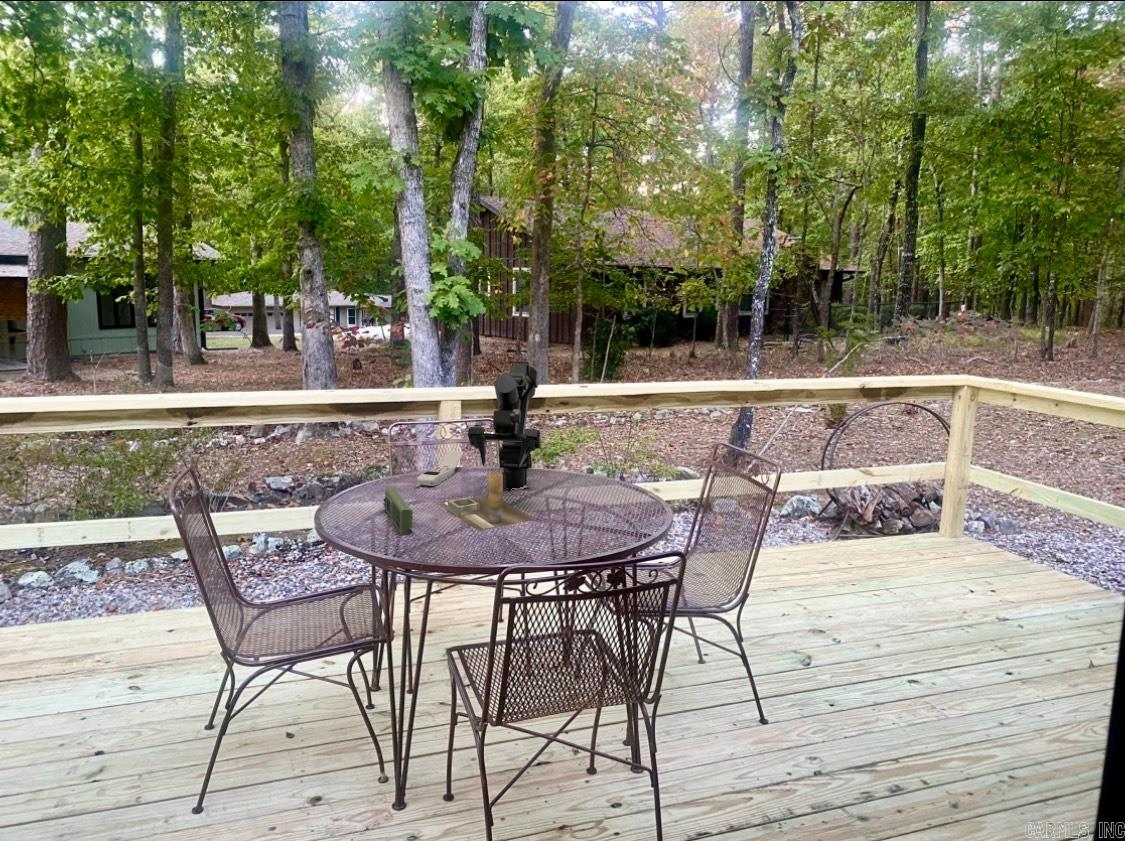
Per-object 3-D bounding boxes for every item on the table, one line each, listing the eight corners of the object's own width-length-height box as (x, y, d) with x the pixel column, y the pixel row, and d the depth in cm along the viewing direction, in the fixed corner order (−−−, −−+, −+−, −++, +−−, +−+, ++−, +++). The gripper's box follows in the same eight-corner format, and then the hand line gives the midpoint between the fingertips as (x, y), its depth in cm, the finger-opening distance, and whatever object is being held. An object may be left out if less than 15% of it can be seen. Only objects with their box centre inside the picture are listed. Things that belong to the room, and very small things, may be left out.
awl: (498, 518, 183) (498, 472, 181) (504, 522, 180) (505, 475, 178) (485, 520, 181) (486, 474, 179) (492, 524, 179) (492, 477, 176)
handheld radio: (399, 536, 174) (379, 504, 196) (413, 535, 175) (391, 504, 198) (399, 509, 173) (379, 480, 195) (413, 508, 174) (392, 480, 196)
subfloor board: (491, 499, 202) (491, 486, 201) (535, 524, 184) (535, 509, 183) (438, 509, 193) (438, 494, 193) (478, 536, 175) (478, 520, 174)
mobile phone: (465, 450, 232) (430, 470, 208) (465, 468, 233) (431, 490, 210) (447, 449, 234) (411, 468, 210) (447, 467, 235) (412, 488, 211)
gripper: (468, 396, 189) (459, 447, 180) (540, 398, 187) (535, 451, 179) (475, 419, 198) (466, 470, 190) (543, 422, 197) (538, 473, 188)
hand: (500, 465), depth 186 cm, fingers open, 9 cm apart
